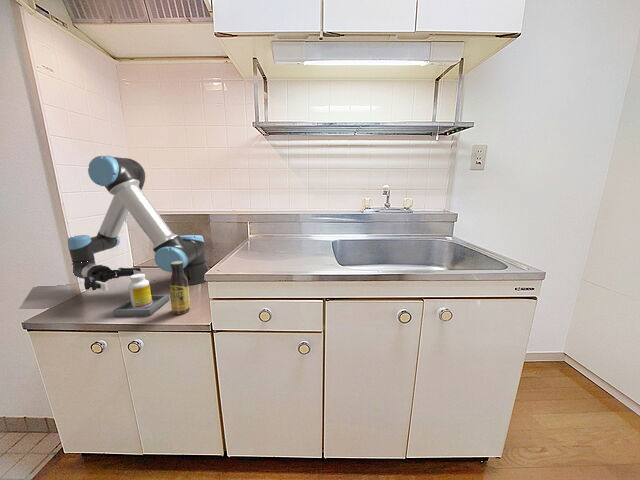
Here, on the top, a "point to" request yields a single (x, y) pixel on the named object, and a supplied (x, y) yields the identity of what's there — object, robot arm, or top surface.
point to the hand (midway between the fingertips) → (126, 281)
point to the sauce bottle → (179, 289)
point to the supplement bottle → (140, 292)
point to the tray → (129, 311)
